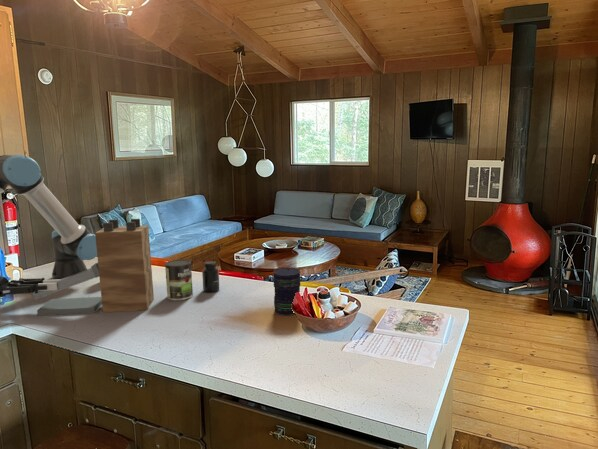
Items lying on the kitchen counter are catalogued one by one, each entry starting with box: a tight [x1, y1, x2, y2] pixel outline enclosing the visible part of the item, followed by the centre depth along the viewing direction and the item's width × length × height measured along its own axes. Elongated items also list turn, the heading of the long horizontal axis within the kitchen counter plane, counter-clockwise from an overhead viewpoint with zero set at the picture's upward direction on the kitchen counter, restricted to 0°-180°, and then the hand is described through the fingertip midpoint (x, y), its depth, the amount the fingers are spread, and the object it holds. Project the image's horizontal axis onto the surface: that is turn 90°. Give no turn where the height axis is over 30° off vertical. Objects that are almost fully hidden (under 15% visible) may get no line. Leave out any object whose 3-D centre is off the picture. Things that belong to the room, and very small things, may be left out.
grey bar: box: [31, 262, 99, 301], centre depth 173 cm, size 5×26×4 cm, turn 96°
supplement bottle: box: [201, 260, 220, 293], centre depth 193 cm, size 7×7×12 cm
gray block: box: [36, 296, 102, 316], centre depth 175 cm, size 12×20×2 cm, turn 96°
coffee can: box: [164, 259, 194, 301], centre depth 185 cm, size 10×10×14 cm
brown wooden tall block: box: [94, 218, 155, 313], centre depth 174 cm, size 12×16×33 cm
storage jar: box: [272, 267, 301, 317], centre depth 168 cm, size 10×10×15 cm
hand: (59, 284), depth 173 cm, fingers closed on grey bar, 3 cm apart
